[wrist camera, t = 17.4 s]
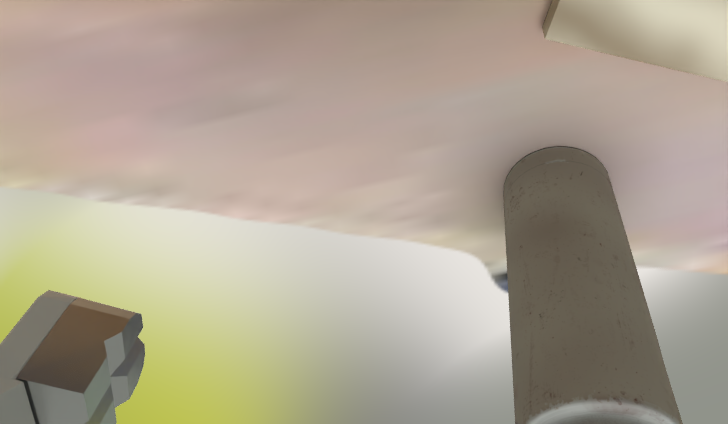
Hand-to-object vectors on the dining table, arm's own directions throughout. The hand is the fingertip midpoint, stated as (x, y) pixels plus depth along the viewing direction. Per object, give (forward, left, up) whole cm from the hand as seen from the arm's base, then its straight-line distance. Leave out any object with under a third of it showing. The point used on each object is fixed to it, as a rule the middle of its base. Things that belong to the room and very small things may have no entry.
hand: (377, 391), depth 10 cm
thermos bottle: (+17, +13, -34) cm, 40 cm away
